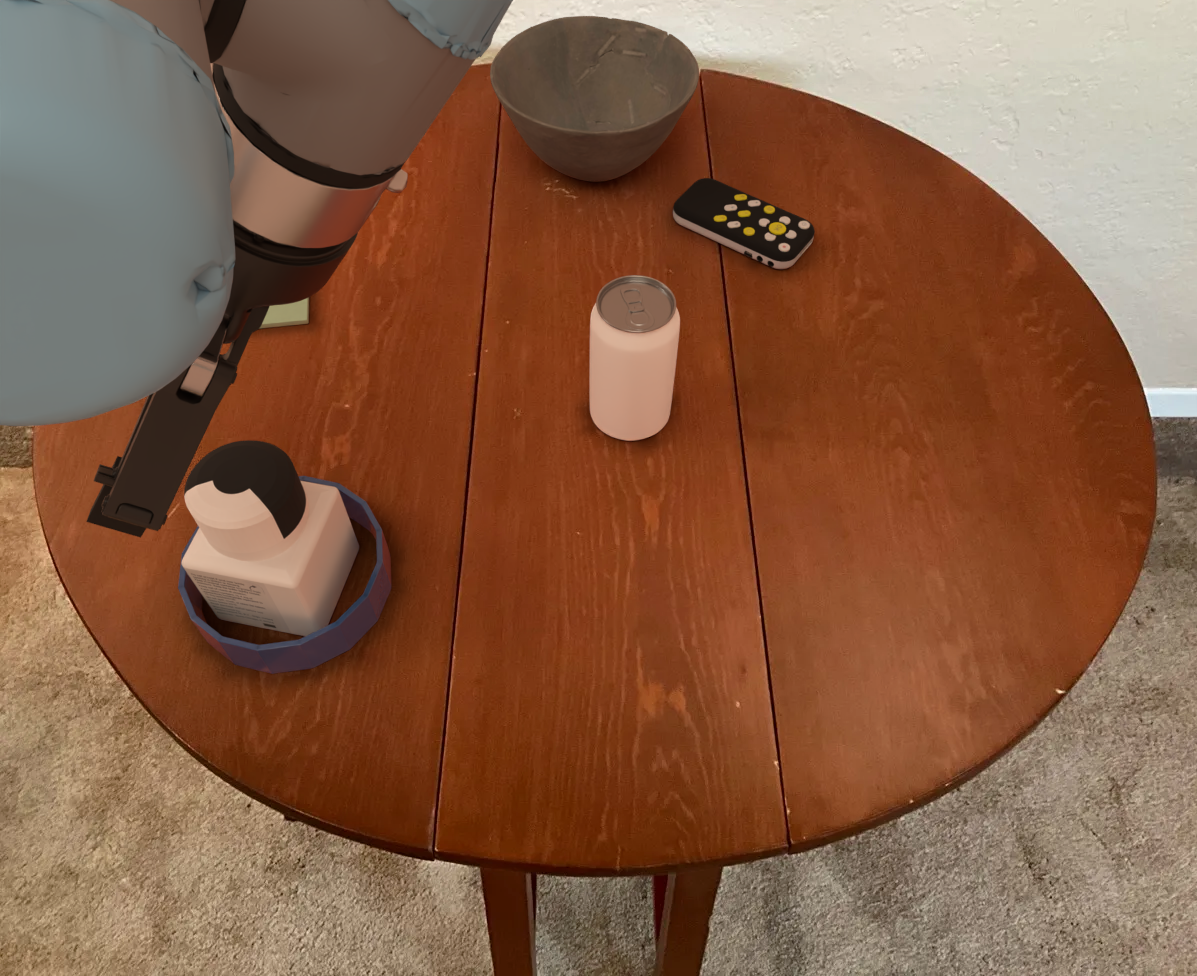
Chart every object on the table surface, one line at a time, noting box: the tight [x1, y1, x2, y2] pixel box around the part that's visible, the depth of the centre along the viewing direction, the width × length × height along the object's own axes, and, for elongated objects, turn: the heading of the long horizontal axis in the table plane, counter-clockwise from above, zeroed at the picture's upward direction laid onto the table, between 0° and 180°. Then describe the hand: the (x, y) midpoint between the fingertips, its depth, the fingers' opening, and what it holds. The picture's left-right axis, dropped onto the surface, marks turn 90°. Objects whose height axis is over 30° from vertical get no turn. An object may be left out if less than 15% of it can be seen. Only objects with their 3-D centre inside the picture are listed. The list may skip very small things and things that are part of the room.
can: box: [589, 274, 681, 442], centre depth 72 cm, size 6×6×12 cm
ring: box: [177, 475, 393, 675], centre depth 67 cm, size 13×13×4 cm
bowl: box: [489, 15, 700, 183], centre depth 91 cm, size 19×19×10 cm
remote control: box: [672, 177, 815, 270], centre depth 89 cm, size 6×13×2 cm, turn 55°
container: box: [182, 439, 360, 637], centre depth 63 cm, size 8×8×13 cm
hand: (152, 418), depth 54 cm, fingers open, 13 cm apart
